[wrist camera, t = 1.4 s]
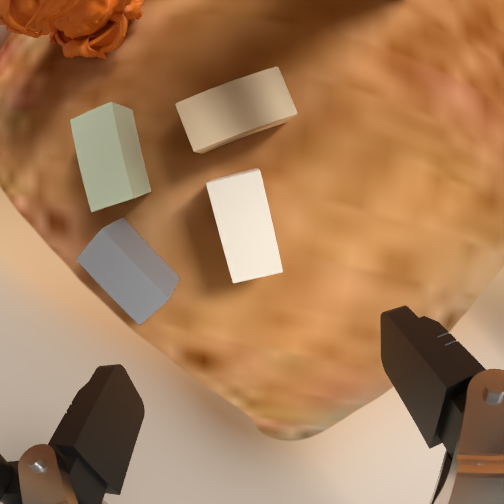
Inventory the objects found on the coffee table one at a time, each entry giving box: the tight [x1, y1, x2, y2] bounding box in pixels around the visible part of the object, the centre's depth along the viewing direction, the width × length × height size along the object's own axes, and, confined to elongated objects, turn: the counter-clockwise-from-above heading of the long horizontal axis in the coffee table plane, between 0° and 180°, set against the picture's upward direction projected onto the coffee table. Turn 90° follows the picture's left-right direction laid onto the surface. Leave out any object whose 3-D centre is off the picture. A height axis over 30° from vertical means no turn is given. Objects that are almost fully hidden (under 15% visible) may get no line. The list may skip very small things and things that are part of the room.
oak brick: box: [175, 66, 298, 153], centre depth 23 cm, size 8×4×5 cm, turn 111°
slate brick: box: [76, 217, 180, 325], centre depth 26 cm, size 8×4×5 cm, turn 41°
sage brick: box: [70, 101, 152, 212], centre depth 23 cm, size 8×4×5 cm, turn 13°
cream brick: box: [206, 168, 283, 283], centre depth 25 cm, size 8×4×5 cm, turn 13°
